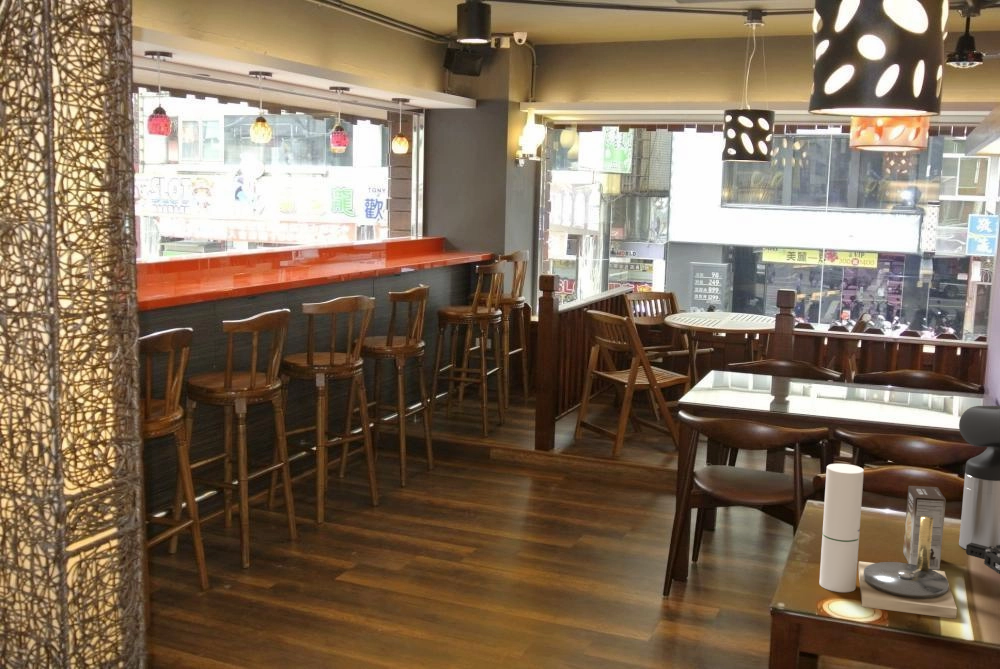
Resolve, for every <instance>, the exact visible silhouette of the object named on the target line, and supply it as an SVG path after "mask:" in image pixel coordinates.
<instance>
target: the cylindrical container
mask: <svg viewBox="0 0 1000 669" xmlns="http://www.w3.org/2000/svg"><path fill="white" fill-rule="evenodd" d="M864 471H865V470H864V468H862V467H860V466H858V465H854V464H850V463H849V464H848V463H830V464H828V465H827V466H826V472H825V486H824V487H825V489H824V505H823V517H822V518H823V519H822V520H823V523H822V538H821V549H820V550H821V552H820V564H819V565H820V568H819V583H818V584H819V586H821V587H822V588H824V589H825V590H828V591H830V592H837V593H850V592H854V591H855V590H856V587H857V576H858V575H857V574H858V572H857V571H858V562H859V561H858V559H859V545H860V544H859V543H860V528H861V517H862V516H861V515H862V514H861V513H862V501H863V488H864V487H863V486H864V485H863V484H864V474H865V472H864Z"/></svg>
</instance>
